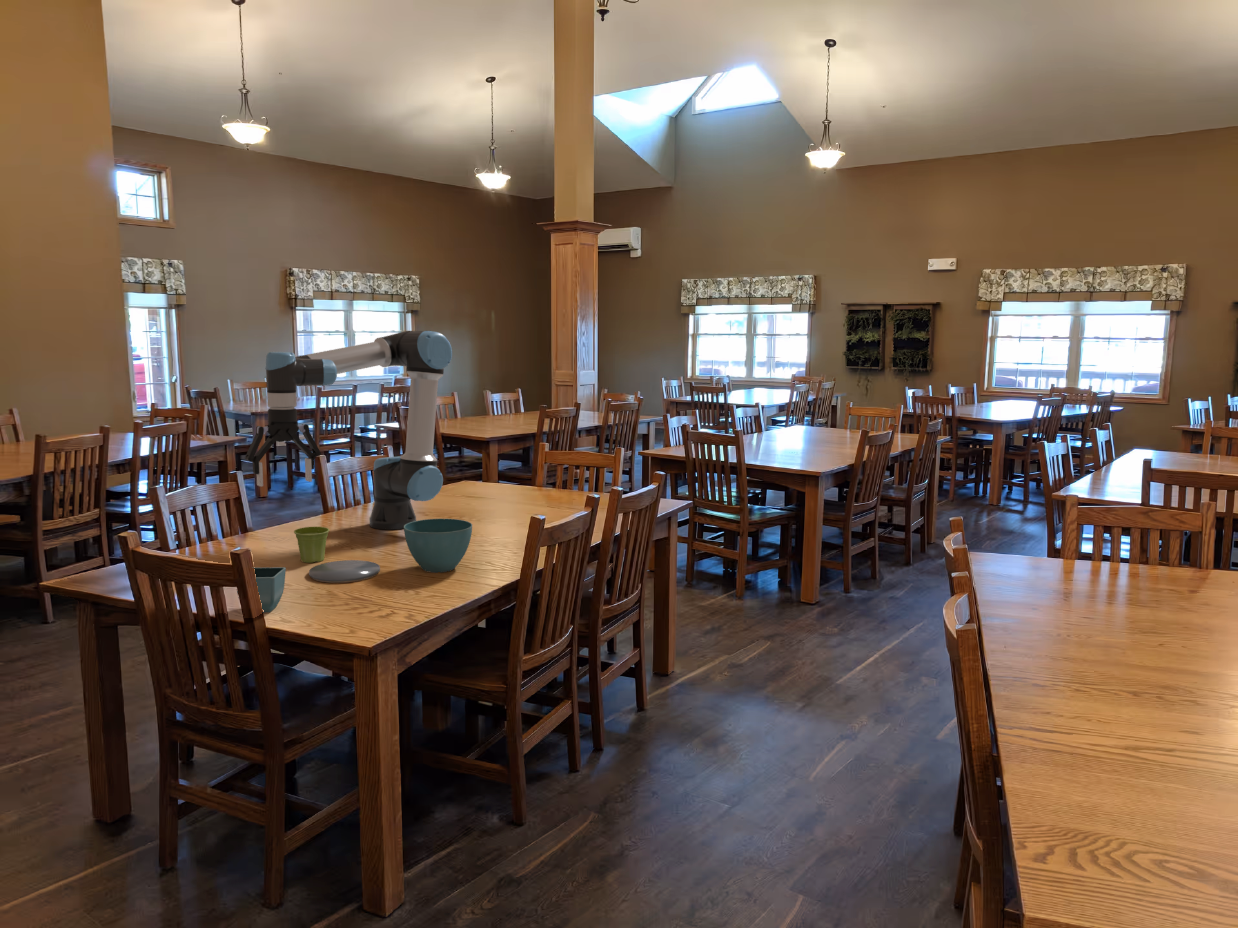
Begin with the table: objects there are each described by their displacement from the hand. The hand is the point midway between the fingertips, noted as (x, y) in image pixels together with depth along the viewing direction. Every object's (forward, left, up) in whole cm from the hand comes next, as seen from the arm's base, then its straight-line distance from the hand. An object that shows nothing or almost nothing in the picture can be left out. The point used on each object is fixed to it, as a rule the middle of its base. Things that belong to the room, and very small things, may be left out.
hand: (284, 483), depth 235 cm
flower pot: (+10, +47, -21) cm, 52 cm away
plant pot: (-6, +7, -21) cm, 23 cm away
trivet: (-12, +24, -21) cm, 34 cm away
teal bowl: (-36, +29, -21) cm, 51 cm away
